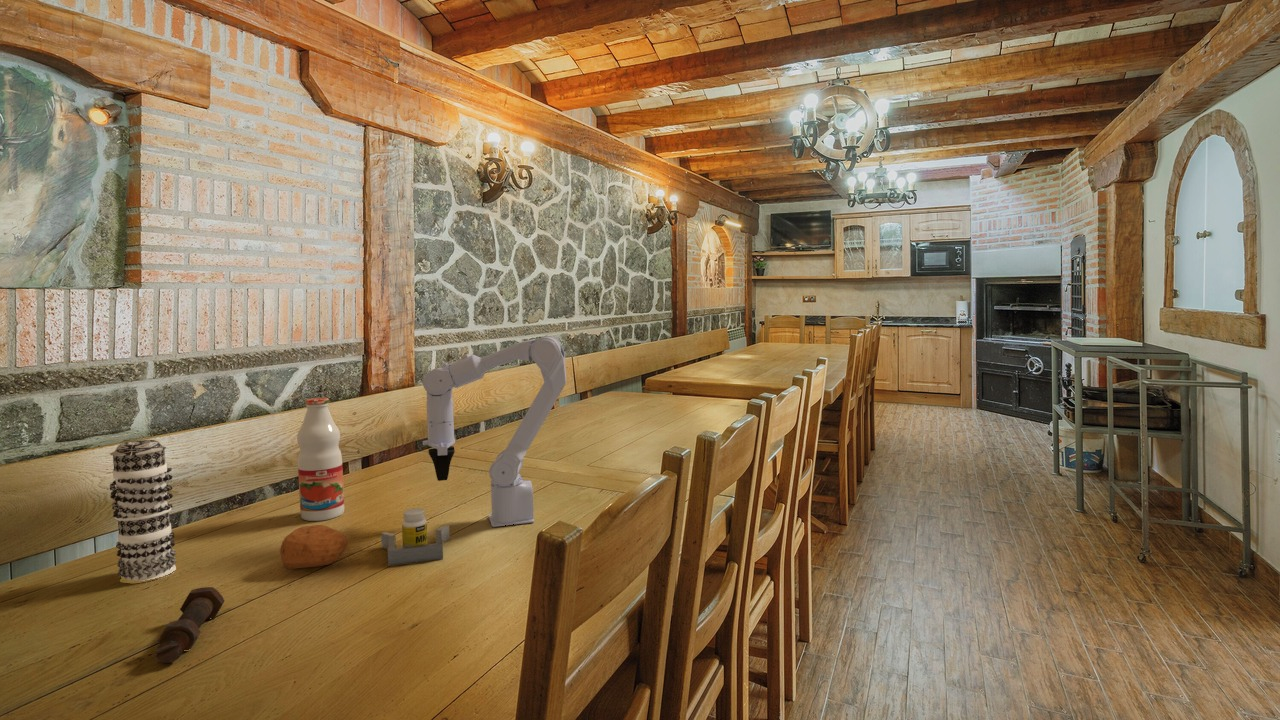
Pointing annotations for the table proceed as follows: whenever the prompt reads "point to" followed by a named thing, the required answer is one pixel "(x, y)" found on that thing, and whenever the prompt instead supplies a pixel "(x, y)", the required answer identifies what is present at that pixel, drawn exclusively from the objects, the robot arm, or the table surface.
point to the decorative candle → (142, 510)
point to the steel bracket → (414, 549)
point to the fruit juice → (320, 464)
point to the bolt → (188, 623)
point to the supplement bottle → (414, 528)
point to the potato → (312, 547)
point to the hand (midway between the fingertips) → (442, 479)
